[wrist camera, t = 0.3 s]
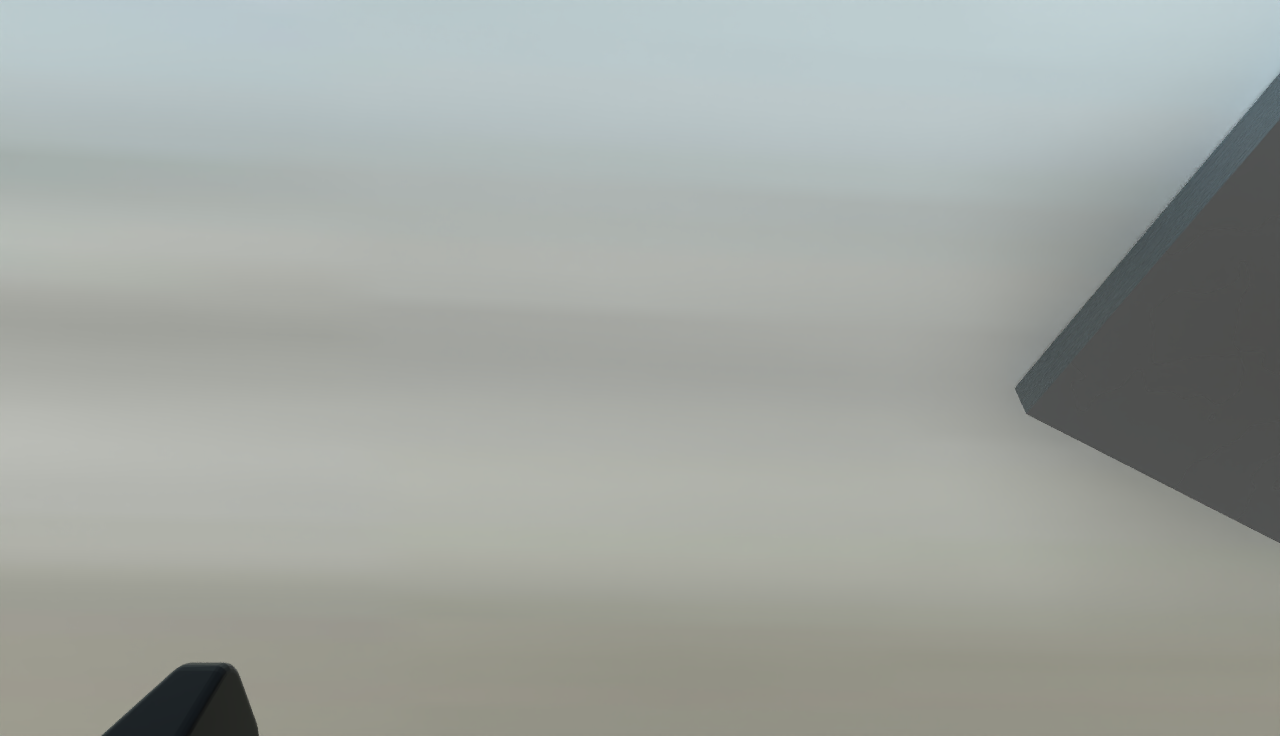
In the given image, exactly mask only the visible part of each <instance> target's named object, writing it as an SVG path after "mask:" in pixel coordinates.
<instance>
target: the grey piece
mask: <svg viewBox="0 0 1280 736" xmlns="http://www.w3.org/2000/svg"><path fill="white" fill-rule="evenodd" d="M1015 390H1016V392H1017V394H1018V396H1019V399H1020V401H1021V403H1022V405H1023V408H1024V410H1025V412H1026V414H1028V415H1030V416H1032V417H1034V418H1036V419H1038V420H1040V421H1041V422H1043V423H1045V424H1047V425H1049V426H1051V427H1053V428H1055V429H1057V430H1059V431H1061V432H1063V433H1065V434H1067V435H1069V436H1071V437H1073V438H1075V439H1077V440H1079V441H1081V442H1083V443H1085V444H1087V445H1089V446H1091V447H1092V448H1094V449H1096V450H1098V451H1100V452H1102V453H1104V454H1106V455H1108V456H1110V457H1112V458H1114V459H1116V460H1118V461H1120V462H1122V463H1124V464H1126V465H1128V466H1130V467H1132V468H1134V469H1136V470H1138V471H1140V472H1142V473H1144V474H1145V475H1147V476H1149V477H1151V478H1153V479H1155V480H1157V481H1159V482H1161V483H1163V484H1165V485H1167V486H1169V487H1171V488H1173V489H1175V490H1177V491H1179V492H1181V493H1183V494H1185V495H1187V496H1189V497H1191V498H1193V499H1195V500H1196V501H1198V502H1200V503H1202V504H1204V505H1206V506H1208V507H1210V508H1212V509H1214V510H1216V511H1218V512H1220V513H1222V514H1224V515H1226V516H1228V517H1230V518H1232V519H1234V520H1236V521H1238V522H1240V523H1242V524H1244V525H1246V526H1247V527H1249V528H1251V529H1253V530H1255V531H1257V532H1259V533H1261V534H1263V535H1265V536H1267V537H1269V538H1271V539H1273V540H1275V541H1277V542H1279V543H1280V74H1279V75H1278V76H1277V77H1276V78H1275V80H1274V81H1273V82H1272V83H1271V84H1270V86H1269V87H1268V88H1267V89H1266V90H1265V92H1264V93H1263V94H1262V95H1261V96H1260V97H1259V99H1258V100H1257V101H1256V102H1255V103H1254V105H1253V106H1252V107H1251V108H1250V109H1249V111H1248V112H1247V113H1246V114H1245V115H1244V117H1243V118H1242V119H1241V120H1240V121H1239V122H1238V124H1237V125H1236V126H1235V127H1234V128H1233V130H1232V131H1231V132H1230V133H1229V134H1228V136H1227V137H1226V138H1225V139H1224V140H1223V141H1222V143H1221V144H1220V145H1219V146H1218V147H1217V149H1216V150H1215V151H1214V152H1213V153H1212V155H1211V156H1210V157H1209V158H1208V159H1207V160H1206V162H1205V163H1204V164H1203V165H1202V166H1201V168H1200V169H1199V170H1198V171H1197V172H1196V174H1195V175H1194V176H1193V177H1192V178H1191V180H1190V181H1189V182H1188V183H1187V184H1186V185H1185V187H1184V188H1183V189H1182V190H1181V191H1180V193H1179V194H1178V195H1177V196H1176V197H1175V199H1174V200H1173V201H1172V202H1171V203H1170V204H1169V206H1168V207H1167V208H1166V209H1165V210H1164V212H1163V213H1162V214H1161V215H1160V216H1159V218H1158V219H1157V220H1156V221H1155V222H1154V223H1153V225H1152V226H1151V227H1150V228H1149V229H1148V231H1147V232H1146V233H1145V234H1144V235H1143V237H1142V238H1141V239H1140V240H1139V241H1138V242H1137V244H1136V245H1135V246H1134V247H1133V248H1132V250H1131V251H1130V252H1129V253H1128V254H1127V256H1126V257H1125V258H1124V259H1123V260H1122V262H1121V263H1120V264H1119V265H1118V266H1117V267H1116V269H1115V270H1114V271H1113V272H1112V273H1111V275H1110V276H1109V277H1108V278H1107V279H1106V281H1105V282H1104V283H1103V284H1102V285H1101V286H1100V288H1099V289H1098V290H1097V291H1096V292H1095V294H1094V295H1093V296H1092V297H1091V298H1090V300H1089V301H1088V302H1087V303H1086V304H1085V305H1084V307H1083V308H1082V309H1081V310H1080V311H1079V313H1078V314H1077V315H1076V316H1075V317H1074V319H1073V320H1072V321H1071V322H1070V323H1069V325H1068V326H1067V327H1066V328H1065V329H1064V330H1063V332H1062V333H1061V334H1060V335H1059V336H1058V338H1057V339H1056V340H1055V341H1054V342H1053V344H1052V345H1051V346H1050V347H1049V348H1048V349H1047V351H1046V352H1045V353H1044V354H1043V355H1042V357H1041V358H1040V359H1039V360H1038V361H1037V363H1036V364H1035V365H1034V366H1033V367H1032V368H1031V370H1030V371H1029V372H1028V373H1027V374H1026V376H1025V377H1024V378H1023V379H1022V380H1021V382H1020V383H1019V384H1018V385H1017V386H1016V388H1015Z"/></svg>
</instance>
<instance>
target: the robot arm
mask: <svg viewBox="0 0 1280 736" xmlns="http://www.w3.org/2000/svg"><path fill="white" fill-rule="evenodd" d="M102 736H259V734H258V727H257V723H256V720H255V717H254V715H253V712H252V709H251V706H250V703H249V701H248V698H247V695H246V692H245V689H244V687H243V684H242V681H241V678H240V676H239V674H238V672H237V670H236V669H235V668H234V667H233V666H232V665H231V664H228V663H187V664H184V665H182V666H180V667H178V668H177V669H175V670H174V671H173V672H172V673H171V674H169V675H168V676H167V677H166V678H165V679H164V680H163V681H162V682H161V683H159V684H158V685H157V686H156V687H155V688H154V689H153V690H152V691H151V692H149V693H148V694H147V695H146V696H145V697H144V698H143V699H142V700H141V701H139V702H138V703H137V704H136V705H135V706H134V707H133V708H132V709H131V710H129V711H128V712H127V713H126V714H125V715H124V716H123V717H122V718H121V719H119V720H118V721H117V722H116V723H115V724H114V725H113V726H112V727H111V728H109V729H108V730H107V731H106V732H105V733H104V734H103V735H102Z"/></svg>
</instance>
